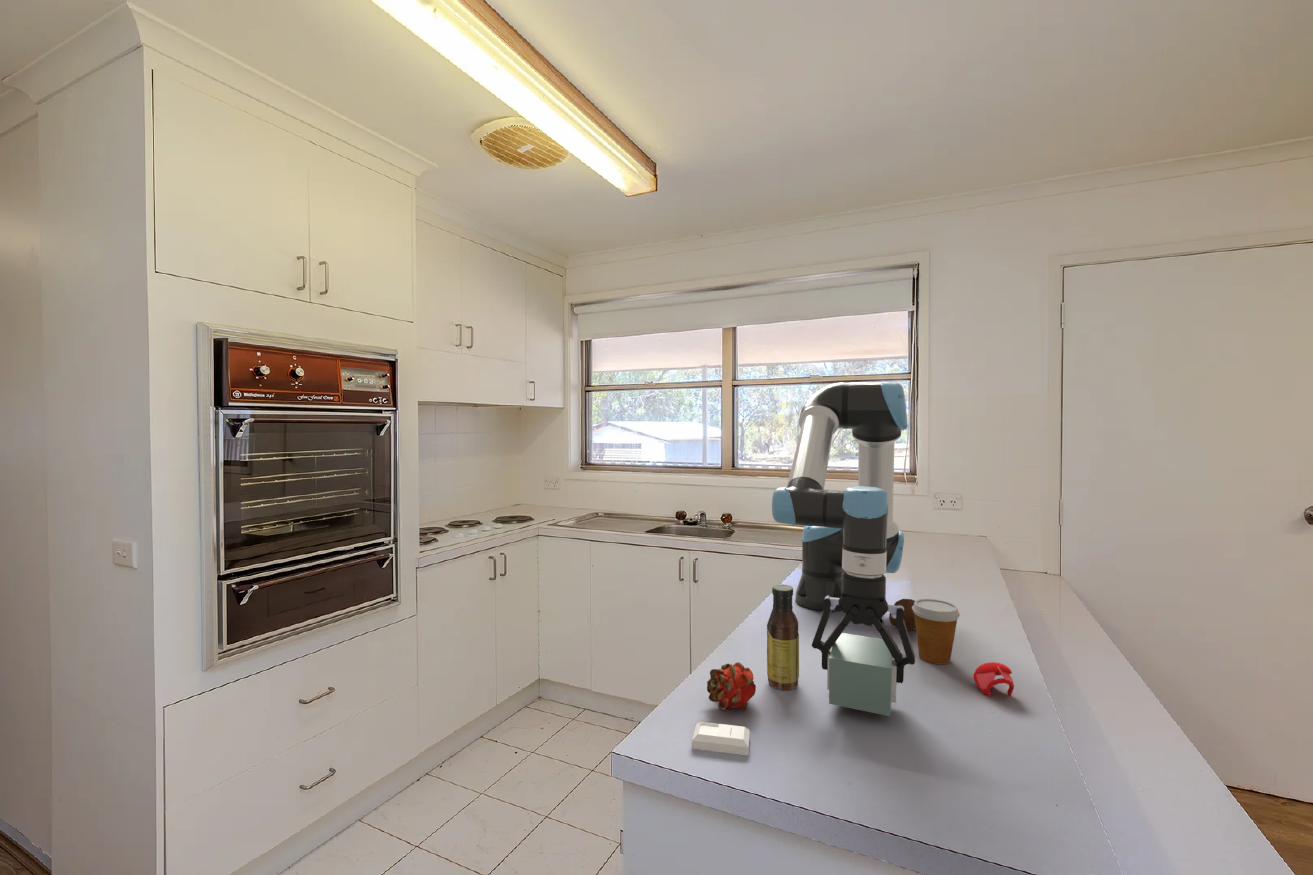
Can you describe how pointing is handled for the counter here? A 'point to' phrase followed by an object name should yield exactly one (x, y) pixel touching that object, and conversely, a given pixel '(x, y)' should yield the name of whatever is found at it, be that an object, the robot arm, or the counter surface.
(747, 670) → the dragon fruit
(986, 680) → the red curved piece
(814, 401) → the robot arm
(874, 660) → the sage green cube
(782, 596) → the sauce bottle
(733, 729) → the soap bar
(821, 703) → the counter surface
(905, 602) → the potato
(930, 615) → the disposable coffee cup
